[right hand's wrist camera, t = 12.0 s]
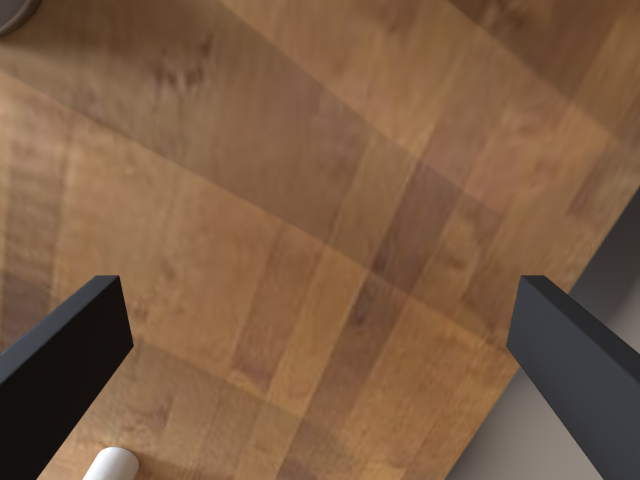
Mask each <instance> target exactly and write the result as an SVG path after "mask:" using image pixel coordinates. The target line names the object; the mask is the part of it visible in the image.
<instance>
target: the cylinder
mask: <svg viewBox="0 0 640 480" xmlns="http://www.w3.org/2000/svg"><path fill="white" fill-rule="evenodd" d="M138 469H139V461H138V459H137V457H136V456H135V455H134V454H133V453H132V452H130V451H128V450H126V449H123V448H119V447H110V448H106V449H104V450H102V451H101V452H100V453H99V454H98V456H97V457H96V459H95V461H94V462H93V464H92V466H91V467H90V469H89V470H88V472H87V474H86V475H85V477H84V479H83V480H133V479H134V477H135V475H136V473H137V471H138Z"/></svg>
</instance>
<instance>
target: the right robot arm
mask: <svg viewBox="0 0 640 480" xmlns="http://www.w3.org/2000/svg"><path fill="white" fill-rule="evenodd" d="M39 2H40V0H0V37H1V36H4V35H6V34H8V33H10V32H12V31H14V30H15V29H17V28H18V27H20V26H21V25H22V24H23V23H24V22H26V21H27V20H28V18H29V17H30V16H31V15H32V14H33V12H34V11H35V9H36V8H37V6H38V4H39ZM133 346H134V344H133V339H132V335H131V330H130V325H129V320H128V315H127V311H126V306H125V301H124V296H123V291H122V286H121V282H120V277H119V275H108V276H107V275H100V276H99V275H97V276H95V277H93V278H92V279H91V280H90V281H89V282H87V283H86V284H85V285H84V286H82V287H81V288H80V289H79V290H78V291H76V292H75V293H74V294H73V295H72V296H70V297H69V298H68V299H67V300H65V301H64V302H63V303H62V304H61V305H59V306H58V307H57V308H56V309H55V310H53V311H52V312H51V313H50V314H48V315H47V316H46V317H45V318H44V319H42V320H41V321H40V322H39V323H38V324H36V325H35V326H34V327H33V328H32V329H30V330H29V331H28V332H27V333H25V334H24V335H23V336H22V337H21V338H19V339H18V340H17V341H16V342H15V343H13V344H12V345H11V346H10V347H8V348H7V349H6V350H5V351H4V352H2V353H1V354H0V480H36V479H37V478H38V477H39V475H40V474H41V472H42V471H43V470H44V468H45V467H46V466H47V464H48V463H49V462H50V460H51V459H52V457H53V456H54V455H55V453H56V452H57V451H58V449H59V448H60V446H61V445H62V444H63V442H64V441H65V440H66V438H67V437H68V435H69V434H70V433H71V431H72V430H73V429H74V427H75V426H76V424H77V423H78V422H79V420H80V419H81V418H82V416H83V415H84V414H85V412H86V411H87V409H88V408H89V407H90V405H91V404H92V403H93V401H94V400H95V398H96V397H97V396H98V394H99V393H100V392H101V390H102V389H103V387H104V386H105V385H106V383H107V382H108V381H109V379H110V378H111V377H112V375H113V374H114V372H115V371H116V370H117V368H118V367H119V366H120V364H121V363H122V361H123V360H124V359H125V357H126V356H127V355H128V353H129V352H130V350H131V349H132V348H133ZM506 346H507V348H508V349H509V350H510V352H511V353H512V355H513V356H514V357H515V359H516V360H517V361H518V363H519V364H520V366H521V367H522V368H523V370H524V371H525V372H526V374H527V375H528V377H529V378H530V379H531V381H532V382H533V383H534V385H535V386H536V387H537V389H538V390H539V392H540V393H541V394H542V396H543V397H544V398H545V400H546V401H547V403H548V404H549V405H550V407H551V408H552V409H553V411H554V412H555V414H556V415H557V416H558V418H559V419H560V420H561V422H562V423H563V424H564V426H565V427H566V428H567V430H568V431H569V433H570V434H571V435H572V437H573V438H574V440H575V441H576V442H577V444H578V445H579V446H580V448H581V449H582V451H583V452H584V453H585V455H586V456H587V457H588V459H589V460H590V461H591V463H592V464H593V466H594V467H595V468H596V470H597V471H598V472H599V474H600V475H601V477H602V478H603V479H604V480H640V354H639V353H638V352H636V351H635V350H634V349H633V348H632V347H630V346H629V345H628V344H627V343H625V342H624V341H623V340H622V339H621V338H619V337H618V336H617V335H616V334H615V333H613V332H612V331H611V330H610V329H608V328H607V327H606V326H605V325H604V324H602V323H601V322H600V321H599V320H598V319H596V318H595V317H594V316H593V315H591V314H590V313H589V312H588V311H587V310H585V309H584V308H583V307H582V306H581V305H579V304H578V303H577V302H576V301H575V300H573V299H572V298H571V297H570V296H568V295H567V294H566V293H565V292H564V291H562V290H561V289H560V288H559V287H558V286H556V285H555V284H554V283H553V282H551V281H550V280H549V279H548V278H547V277H545V276H543V275H542V276H540V275H539V276H537V275H536V276H535V275H533V276H532V275H531V276H529V275H528V276H526V275H525V276H524V275H523V276H521V277H520V282H519V286H518V291H517V296H516V301H515V306H514V311H513V315H512V320H511V325H510V330H509V335H508V339H507V344H506Z"/></svg>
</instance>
